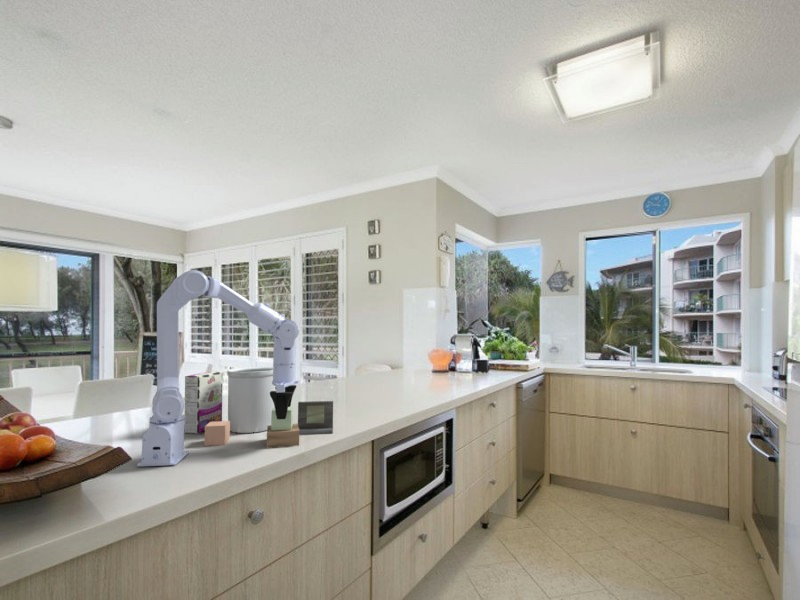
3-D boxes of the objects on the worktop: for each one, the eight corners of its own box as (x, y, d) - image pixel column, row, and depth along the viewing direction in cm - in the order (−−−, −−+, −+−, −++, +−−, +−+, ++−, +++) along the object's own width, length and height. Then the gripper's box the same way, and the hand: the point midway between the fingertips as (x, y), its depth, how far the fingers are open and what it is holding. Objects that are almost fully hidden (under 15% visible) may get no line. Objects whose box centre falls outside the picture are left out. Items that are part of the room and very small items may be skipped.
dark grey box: (332, 433, 118) (333, 403, 119) (296, 434, 117) (297, 404, 117) (332, 428, 124) (333, 399, 124) (298, 429, 122) (299, 400, 123)
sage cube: (290, 429, 107) (291, 410, 108) (271, 430, 106) (271, 410, 107) (292, 425, 112) (292, 406, 113) (273, 426, 111) (273, 407, 112)
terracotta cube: (224, 445, 107) (225, 425, 107) (204, 446, 106) (204, 426, 106) (229, 439, 111) (230, 421, 112) (209, 440, 111) (210, 421, 111)
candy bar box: (208, 424, 128) (209, 370, 129) (222, 425, 127) (223, 371, 128) (182, 433, 117) (184, 375, 118) (197, 434, 116) (199, 375, 117)
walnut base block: (299, 446, 107) (299, 430, 107) (266, 449, 104) (266, 433, 104) (297, 438, 114) (297, 423, 114) (267, 440, 112) (267, 425, 112)
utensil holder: (217, 427, 124) (219, 368, 125) (263, 419, 135) (265, 365, 136) (238, 437, 114) (240, 373, 115) (287, 427, 124) (288, 369, 125)
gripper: (297, 366, 104) (296, 421, 103) (301, 361, 118) (301, 409, 117) (268, 367, 103) (266, 422, 102) (276, 361, 117) (275, 410, 116)
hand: (283, 415), depth 110 cm, fingers open, 7 cm apart
